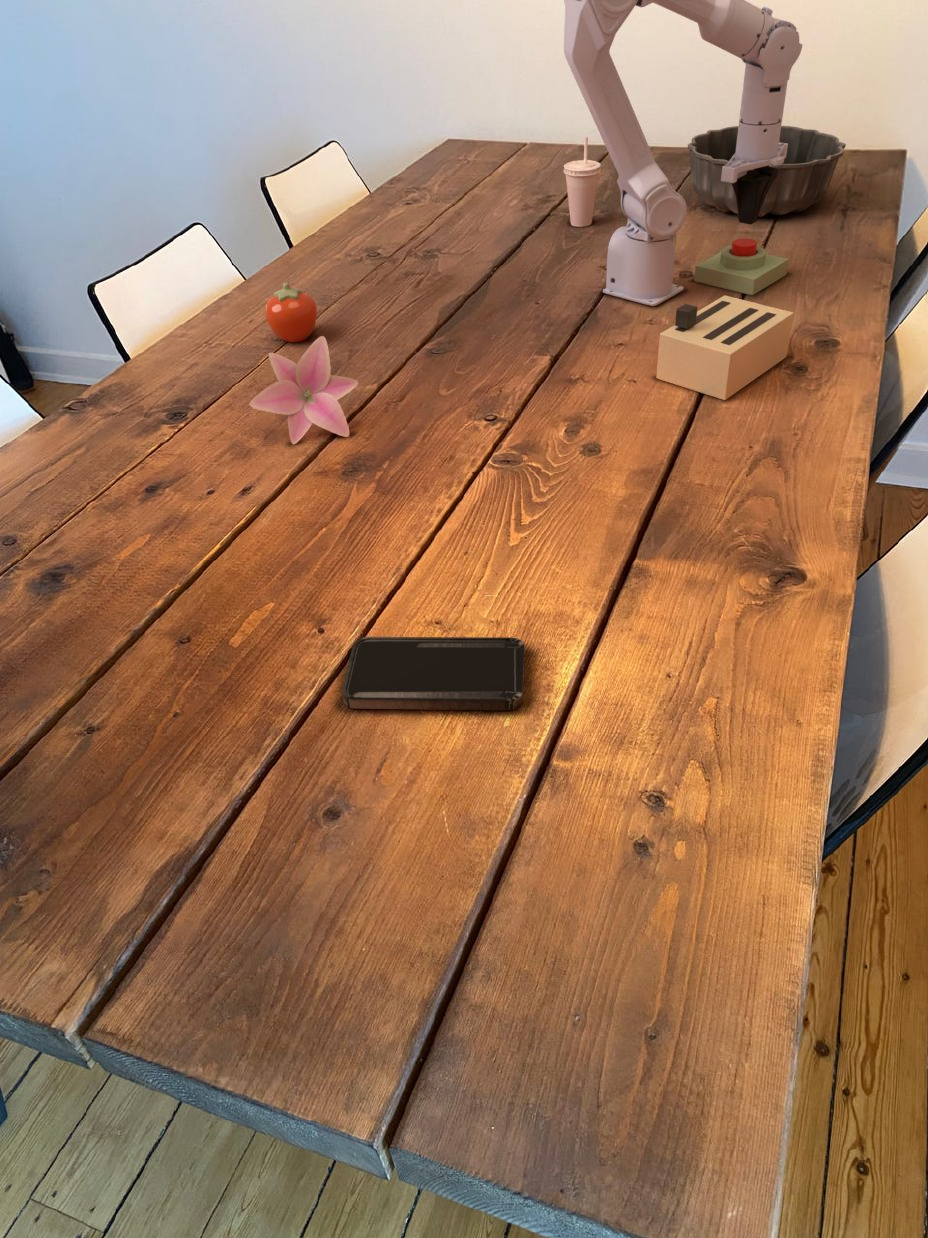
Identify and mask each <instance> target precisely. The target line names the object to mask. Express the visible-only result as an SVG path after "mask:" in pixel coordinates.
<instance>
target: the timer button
mask: <svg viewBox="0 0 928 1238" xmlns="http://www.w3.org/2000/svg"><path fill="white" fill-rule="evenodd" d="M731 245H732V249H731V254H732V255H735V256H743V257H748V256H753V255H756V248H757V246H758V242H757V240H755V239H752V238H747V237H744V238H737V239H734V240H732V242H731Z"/></svg>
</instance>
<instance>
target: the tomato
mask: <svg viewBox="0 0 928 1238" xmlns="http://www.w3.org/2000/svg"><path fill="white" fill-rule="evenodd" d="M264 316H265V319H266V323H267V324H268V326H269V327H270V329H271V331H272V332H273V333H274V334H275V335H276V336H277V337H278V338H279V339H281V340H282V341H284V342H289V343H298V342H299V343H300V342H303V341H305V340H307V339H308V338H309V337H310V335H311V334H312V333H313V332H314V329H315V326H316V322H317V318H318V307H317V304H316V302H315V300H314V299H313V298H312V296H311V295H309V294H308V293H306V292H303V291H302V289H300V288H296V287H291V285H290V284H289V282H287V281H286V282H284V283H283V285H282V288H281V289H278V290H277V291H275V292H273V296H271V297H270V298H269V299H268V300H267V302H266V304H265V307H264Z"/></svg>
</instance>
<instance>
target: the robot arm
mask: <svg viewBox="0 0 928 1238" xmlns="http://www.w3.org/2000/svg"><path fill="white" fill-rule="evenodd" d="M563 2H564V29H563V31H564V32H563V53H564V58H565V59H566V62H567V65H568V66H569V67H568V68H570V72H571V73H572V75H573V77H574V80H575V82H576V85H577V86H578V88H579V91H580V93H581V96H582V97H583V100H584V101H585V104H586V106H587V108H588V110H589V113H590V114H591V118H592V119H593V121H594V123H595V126H596V128H597V130H598V133H599V134H600V137H601V139H602V141H603V143H604V146H605V148H606V150H607V152H608V155H609V156H610V159H611V162H612V164H613V166H614V168H615V170H616V172H617V174H618V178H617V180H616V184H617V186H618V188H619V191H620V207H621V211H622V213H623V215H624V216H625V217H626V218H627V224H626V226H625V225H624V226H620V227H618V228H617V229H616V230H615V231H614V232H613V233H612V235H611V237H610V238H609V239H610V240H609V242H608V245H607V253H606V254H607V255H606V278H605V279H606V282H605V288H603V290H602V293H603V294H606V295H609V296H613V297H616V298H620V299H623V300H628V301H632V302H635V303H639V304H643V305H646V306H649V307H656V306H658V305H661V303H664V302H666V301H668V300H669V299H670V298H672V297H674V296H676V295H677V294H679V293H681V292H683V291H684V290H685V287H684V286H683V285H680V284H679V285H678V284H675V283H673V282H674V270H675V258H676V245H677V233H678V232H679V231H680V230H681V228H682V227H683V225H684V223H685V221H686V219H687V214H688V213H687V212H688V207H687V203H686V200H685V198H684V197H683V196H682V195H681V194H680V193H679V192H677V191H675V190H674V188H673V187H672V185H671V182H670V181H669V179H668V177H667V176H666V174H665V173H664V172H663V170H662V169H661V168H660V167H659V165H658V163H657V162H656V160H655V157H654V155H653V152H652V150H651V148H650V146H649V144H648V141H647V139H646V136H645V134H644V132H643V129H642V127H641V125H640V122H639V119H638V117H637V115H636V113H635V110H634V108H633V106H632V103H631V100H630V98H629V96H628V94H627V91H626V89H625V86H624V84H623V82H622V79H621V77H620V74H619V73H618V70H617V68H616V65H615V63H614V60H613V58H612V56H611V54H610V50H611V47H612V45H613V43H614V39H615V37H616V34H618V31H619V30H620V29H621V27H622V26H623V24H624V23H625V22H626V20H627V18H628V17H629V16H630V14H631V13H632V12H633V10H634V8H635V7H639V8H644V7H647V6H649V5H651V4H655V5H657V6H659V7H662V8H663V9H664V8H665V9H666V10H667V11H668V10H669V11H671V12H673V13H675V14H677V15H679V16H681V17H684V18H686V19H688V20H690V21H693V22H694V23H696V24H697V26H698V32H699V35H700V37H701V39H702V40H703V41H704V42H707V43H709V44H711V45H713V46H715V47H717V48H719V49H721V50H723V51H725V52H727V53H729V54H731V55H733V56H735V57H737V58H739V59H741V61H742V62H743V63H744V64H745V68H744V76H743V85H742V93H741V102H740V109H739V110H740V111H739V119H738V125H737V126H738V135H737V144H736V152H735V154H734V155H733V156H732V158H731V159H730V161H729V162H728V163H727V164H726V165H725V166H723V167H722V175H721V181H723V182H730V183H731V184H732V186H733V189H734V192H735V196H736V201H737V208H738V214H737V217H738V222H739V223H740V224H741V223H742V224H746V225H753V224H755V223H756V222H757V220H758V219H759V216H758V215H759V213H760V210H761V207H762V204H763V202H764V199H765V197H766V194H767V192H768V190H769V188H770V187H771V185H772V183H773V182H774V180H775V179H776V177H777V176H778V172H779V169H777V168H773V167H769V165H779V164H781V163H783V162H784V158H786V155H787V148H788V144H787V143H780V142H779V138H780V131H781V126H782V125H783V117H784V111H785V110H784V109H785V104H786V98H787V97H786V95H787V90H788V89H787V88H788V81H789V80H790V77H791V70H792V69H793V66H794V65H795V63H796V62H797V60H798V59H799V57H800V55H801V53H802V49H803V44H802V43H801V42H800V33H799V32H798V31H797V30H798V28H797V27H796V25H794V23H792V22H791V21H787V20H784V19H779V18H776V17H773V16H772V15H773V13H774V11H773V9H772V8H769V7H767V6H763V7H761V8H760V7H758V6H756V5H754V4H753V3H750V2H749V1H747V0H563Z"/></svg>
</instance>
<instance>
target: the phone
mask: <svg viewBox="0 0 928 1238" xmlns="http://www.w3.org/2000/svg"><path fill="white" fill-rule="evenodd" d="M525 655H526V654H525V643H524V642H523V640H521V639H519V638H517V637H507V636H506V637H503V636H502V637H501V636H500V637H493V636H492V637H489V636H488V637H485V636H484V637H483V636H482V637H481V636H480V637H477V636H475V637H473V636H472V637H470V636H469V637H468V636H467V637H466V636H452V637H451V636H447V637H446V636H363V637H360V638H358V639H356V640H355V641H354V642H353V644H352V648H351V650H350V655H349V659H348V663H347V668H346V671H345V676H344V679H343V683H342V688H341V694H342V699H343V704H344V705H345V706H347V708H350V709H356V710H361V709H363V710H364V709H365V710H434V711H435V710H439V711H441V710H442V711H443V710H444V711H447V710H448V711H456V710H457V711H513V710H517V709H518V708H520V707H521V706H522V704H523V702H524V682H525V681H524V679H525Z"/></svg>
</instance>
